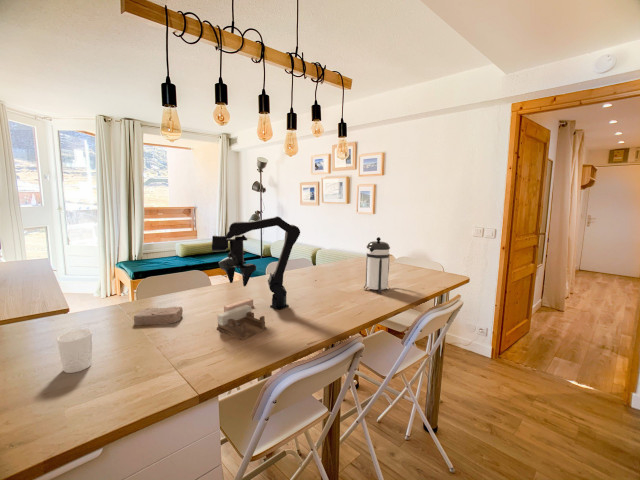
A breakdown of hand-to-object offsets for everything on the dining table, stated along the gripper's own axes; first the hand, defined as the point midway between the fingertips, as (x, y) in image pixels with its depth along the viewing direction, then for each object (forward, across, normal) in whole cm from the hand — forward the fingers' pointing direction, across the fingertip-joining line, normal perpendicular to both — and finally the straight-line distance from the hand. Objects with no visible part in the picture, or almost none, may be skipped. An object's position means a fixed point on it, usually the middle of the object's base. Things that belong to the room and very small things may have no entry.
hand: (237, 284), depth 137 cm
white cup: (+12, -1, -60) cm, 61 cm away
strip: (+9, +13, -13) cm, 20 cm away
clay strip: (+12, 0, 0) cm, 12 cm away
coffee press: (+13, +37, +69) cm, 79 cm away
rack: (+12, +17, -13) cm, 25 cm away
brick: (+12, -16, -28) cm, 34 cm away
